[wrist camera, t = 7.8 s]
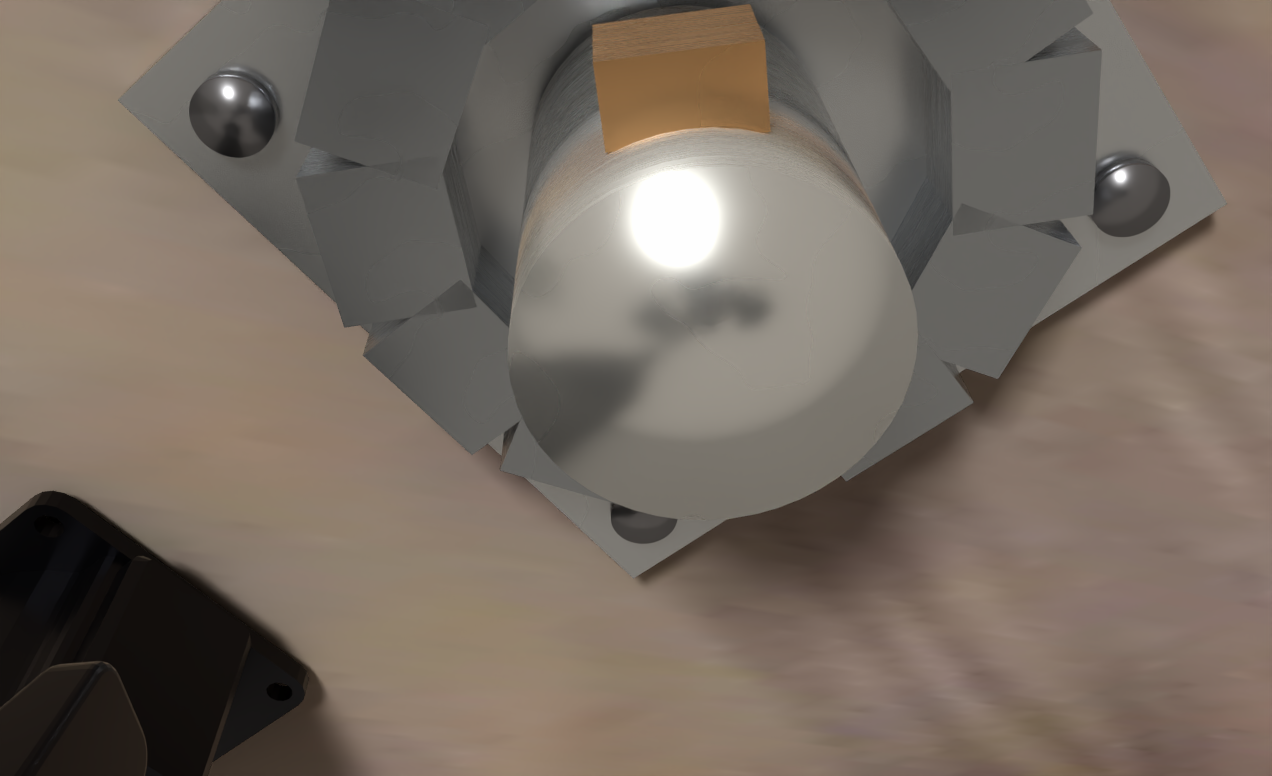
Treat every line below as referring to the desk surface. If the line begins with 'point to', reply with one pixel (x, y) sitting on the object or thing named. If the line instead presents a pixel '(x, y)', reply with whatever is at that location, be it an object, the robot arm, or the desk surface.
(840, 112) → the duct flange
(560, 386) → the silver metal cylinder
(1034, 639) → the desk surface
